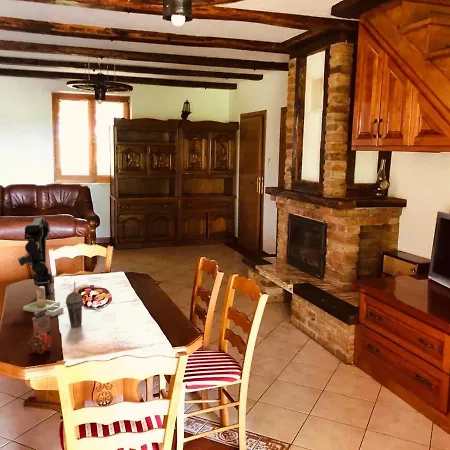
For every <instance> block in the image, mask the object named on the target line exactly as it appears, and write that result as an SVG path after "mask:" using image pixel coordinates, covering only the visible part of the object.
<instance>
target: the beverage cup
mask: <svg viewBox="0 0 450 450" xmlns="http://www.w3.org/2000/svg"><path fill="white" fill-rule="evenodd" d="M83 301H84V300H83V297H82V295H81V294H80V293H78V292H77V291H76V281H74V283H73V292H70V293H69V294H67V296H66V299H65V304H66V309H67V313H68V318H69V319H68V320H69V324H70V328H72V329H80V328H82V321H83V320H82V319H83V318H82V317H83Z"/></svg>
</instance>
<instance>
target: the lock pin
mask: <svg viewBox="0 0 450 450" xmlns="http://www.w3.org/2000/svg"><path fill="white" fill-rule="evenodd" d="M35 292H36V293H35V296H36V301H37V306H38V308H44V307H46V300H47V299H46V296H45V288H44V286H40V287H37V286H36V287H35Z"/></svg>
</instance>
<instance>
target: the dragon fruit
mask: <svg viewBox="0 0 450 450" xmlns="http://www.w3.org/2000/svg"><path fill="white" fill-rule="evenodd" d="M52 343H53V338H52V336H50V335H49V334H47V333H45V332H39V333H38V334H35V335H34V334H33V335H32V336H31V338H30V339H29V342H28V343H27V346H29V348H28V350H29V351H33V352H34V353H36V354H37V355H38V354H40V355H43V354H44V353H45V352H47V351H50V350H51V349H52Z"/></svg>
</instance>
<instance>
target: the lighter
mask: <svg viewBox="0 0 450 450" xmlns="http://www.w3.org/2000/svg"><path fill="white" fill-rule="evenodd" d="M47 311H48V310H47V309H43V310H41V311H40V310H38V311H37V312H33V314H34V317H32V318H31V320H32V327H33V336H34V335H35V334H38V333H39V332H45V333H46V334H47V333H48V332H50V331H51V330H52V328H51V320H50V317H51V316H50V314H49V313H45V312H47Z"/></svg>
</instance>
